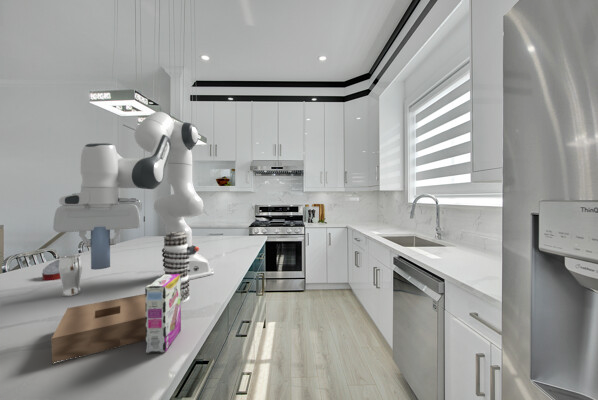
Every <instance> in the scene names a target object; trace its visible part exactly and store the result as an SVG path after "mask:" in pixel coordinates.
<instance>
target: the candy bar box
mask: <svg viewBox="0 0 598 400" xmlns="http://www.w3.org/2000/svg"><path fill="white" fill-rule="evenodd" d="M180 275H181V274H166V275H165V274H163V275H161V276H160V277H159V278H156V279H155V280H154V281H152V282H150V284H148V285H147V286H145V287H144V289H145V290H144V292H145V293H144V294H145V302H146V340H145V353H146V354H158V353H159V354H161V353H162V354H163V353H166V352H167V351H168V350H169V348H170V346H171V345H172V343H174V341H175V339H176V338H177V336H178V335H179V334H180V333H181V331H182V313H181V309H182V306H181V304H182V303H181V282H180V280H181V278H180Z"/></svg>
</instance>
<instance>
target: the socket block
mask: <svg viewBox="0 0 598 400" xmlns="http://www.w3.org/2000/svg"><path fill="white" fill-rule="evenodd" d="M143 341H146V302H145V293H142V294H138V295H137V294H136V295H132V296H127V297H122V298H115V299H110V300H105V301H98V302H93V303H88V304H82V305H78V306H72V307H68V308H66V310H65V312H64V314H63V316H62V318H61V320H60V321H59V324H58V325H57V328H56V329H55V331H54V333H53V335H52V336H51V362H52V363H54V362H57V361H61V360H66V359H70V358H75V357H78V358H80V357H79V356H82V357H85V356H84V355H86V356H89V355H88V354H90V355H93V354H92V353H94V354H97V353H101V352H104V350H105V351H108V350H107V349H109V350H111V348H113V349H115V347H116V348H119V346H120V347H123V346H122V345H124V346H127V345H126V344H128V345H131V343H132V344H135V343H138V342H143ZM100 351H101V352H100ZM96 352H97V353H96ZM75 359H76V358H75Z"/></svg>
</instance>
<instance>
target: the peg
mask: <svg viewBox="0 0 598 400" xmlns="http://www.w3.org/2000/svg"><path fill="white" fill-rule="evenodd" d="M110 239H111V230H106V228H105V227H94V230H93V231H90V240H91V247H90V269H91V270H103V269H104V270H105V269H108V268H110V267H111V245H110Z"/></svg>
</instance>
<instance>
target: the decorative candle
mask: <svg viewBox="0 0 598 400" xmlns="http://www.w3.org/2000/svg"><path fill="white" fill-rule="evenodd" d="M187 236H188V235H186V234H185V233H184V232H182V231H176V232H169V233H167V234H166V233H165V236H163V241H164V245H163V248H162V249H161V252H162V253H161V257H163V258H162V262H163V263H162V267H163V271H164V275H166V274H181V275H180V278H181V280H180V282H181V304H183V303H186V302H188V301H189V300H190V288H189V286H190V283H189V282H190V280H189V279H188V274H187V272H188V271H187V268H189V266H188V265H187V264H189V262H188V261H187V259H188V258H189V256H187V255H188V254H189V252H187V249H189V248H190V247H188V244H187Z"/></svg>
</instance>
